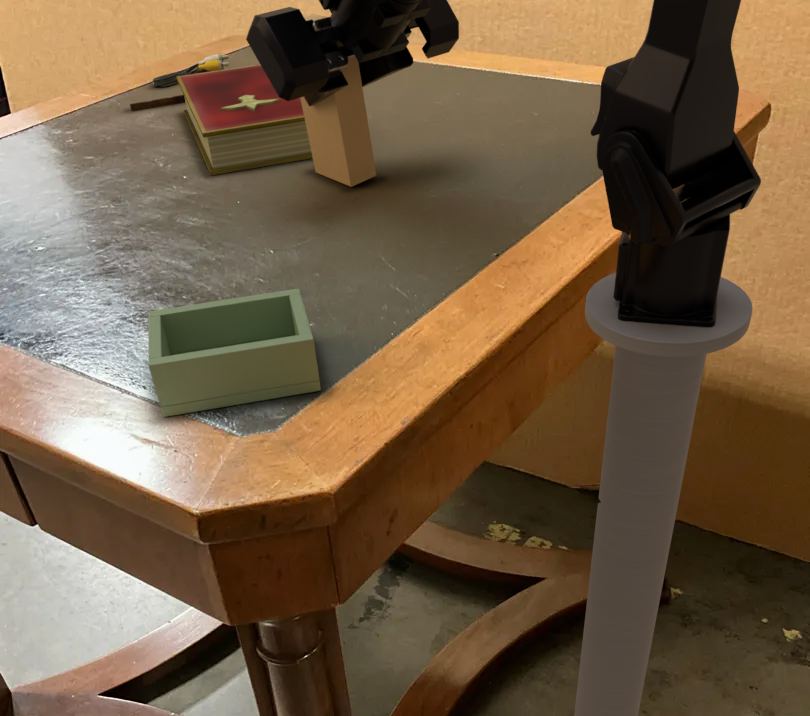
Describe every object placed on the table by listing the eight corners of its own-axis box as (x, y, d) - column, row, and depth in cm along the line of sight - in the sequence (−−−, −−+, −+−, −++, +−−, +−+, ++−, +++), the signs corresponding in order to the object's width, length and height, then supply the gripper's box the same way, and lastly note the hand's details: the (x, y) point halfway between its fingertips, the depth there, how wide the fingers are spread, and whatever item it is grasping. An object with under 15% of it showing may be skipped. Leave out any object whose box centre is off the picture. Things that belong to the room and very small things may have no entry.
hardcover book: (286, 97, 105) (280, 58, 102) (329, 155, 90) (324, 110, 87) (184, 113, 103) (175, 73, 100) (211, 175, 88) (201, 130, 85)
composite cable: (154, 89, 111) (149, 67, 109) (151, 79, 114) (147, 57, 113) (233, 77, 113) (229, 56, 111) (228, 68, 116) (224, 46, 114)
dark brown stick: (256, 91, 109) (254, 82, 108) (257, 92, 108) (255, 83, 108) (131, 112, 105) (129, 103, 105) (132, 113, 105) (130, 104, 104)
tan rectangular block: (340, 161, 88) (313, 13, 79) (376, 175, 84) (352, 21, 75) (315, 172, 87) (284, 23, 78) (351, 187, 83) (323, 32, 74)
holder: (161, 361, 62) (148, 311, 59) (306, 338, 63) (299, 287, 60) (163, 417, 57) (148, 365, 54) (321, 391, 58) (313, 338, 55)
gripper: (433, -144, 71) (358, -4, 85) (237, -111, 63) (189, 38, 77) (502, -17, 72) (417, 101, 86) (317, 32, 64) (256, 154, 77)
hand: (323, 96), depth 82 cm, fingers closed on tan rectangular block, 3 cm apart
